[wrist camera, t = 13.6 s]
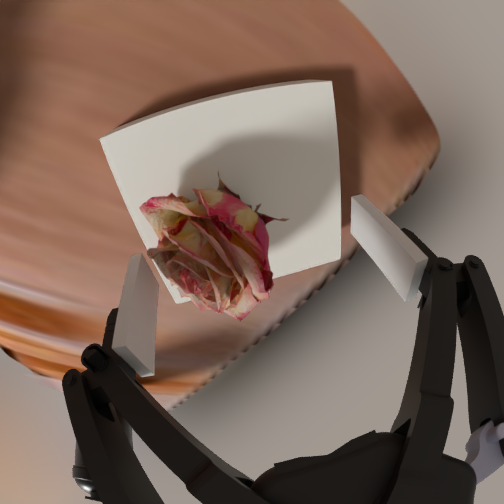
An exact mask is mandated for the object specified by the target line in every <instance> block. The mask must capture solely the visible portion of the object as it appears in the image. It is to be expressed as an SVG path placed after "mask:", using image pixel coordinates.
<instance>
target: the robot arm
mask: <svg viewBox="0 0 504 504" xmlns="http://www.w3.org/2000/svg"><path fill="white" fill-rule="evenodd" d="M351 234H352V235H353V236H354V237H355V239H356V240H357V241H358V242H359V243H360V245H361V246H362V247H363V248H364V249H365V251H366V252H367V253H368V254H369V256H370V257H371V258H372V259H373V261H374V262H375V263H376V264H377V266H378V267H379V268H380V270H381V271H382V272H383V273H384V275H385V276H386V277H387V279H388V280H389V281H390V282H391V284H392V285H393V287H394V288H395V289H396V291H397V292H398V293H399V295H400V296H401V297H402V299H403V300H404V301H405V302H407V301H409V300H411V299H414V298H416V296H417V293H418V290H420V292H421V293H422V297H421V299H420V302H419V305H418V308H419V307H420V312H419V320H418V327H417V334H416V340H415V346H414V352H413V357H412V362H411V367H410V371H409V376H408V380H407V384H406V389H405V393H404V396H403V400H402V404H401V407H400V410H399V413H398V415H397V417H396V419H395V421H394V423H393V426H392V428H391V431H390V432H380V433H376V432H375V430H373V431H372V432H369V433H367V434H364V435H362V436H359V437H357V438H355V439H352V440H350V441H349V442H348V443H346V444H344V445H343V446H341V447H340V448H338V449H337V450H335V451H334V452H332V453H330V454H328V455H323V456H313V457H299V458H295V459H291V460H287V461H283V462H279V463H275V464H274V466H275V467H273V468H271V469H269V470H267V471H266V472H264V473H263V474H262V475H261V476H259V477H258V478H257V479H256V480H255V481H253V480H252V479H250V478H249V477H247V476H246V475H245V474H243V473H241V472H240V471H238V470H237V469H235V468H233V467H232V466H230V465H229V464H227V463H226V462H225V461H223V460H222V459H221V458H219V457H218V456H217V455H216V454H214V453H213V452H212V451H210V450H209V449H208V448H207V447H206V446H204V445H203V444H202V443H201V442H200V441H198V440H197V439H196V438H195V437H194V436H193V435H192V434H190V433H189V432H188V431H187V430H186V429H185V428H184V427H183V426H182V425H181V424H180V423H179V422H177V421H176V420H175V419H174V418H173V417H172V416H171V415H170V414H169V413H168V412H167V411H166V410H165V409H164V408H163V407H162V406H161V405H160V404H159V403H158V402H157V401H156V400H155V399H154V398H153V397H152V396H151V395H150V393H149V392H148V391H147V390H146V389H145V388H144V387H143V386H142V385H141V384H140V382H139V381H138V380H136V379H135V378H136V373H138V374H139V375H140V376H141V377H146V376H153V375H155V340H156V321H157V306H158V294H159V284H158V282H157V280H156V278H155V277H154V275H153V273H152V271H151V269H150V267H149V266H148V264H147V262H146V260H145V258H144V256H143V254H142V253H139V254H136V255H133V256H131V257H130V261H129V265H128V269H127V273H126V277H125V281H124V286H123V290H122V295H121V299H120V304H119V308H115V309H112V311H111V312H110V314H109V316H108V319H107V323H106V325H107V326H106V328H105V333H104V339H103V344H102V346H100V345H99V344H96V343H94V344H91V345H89V346H88V347H86V349H85V350H84V351H83V353H82V356H81V362H82V364H83V365H84V366H85V367H86V368H87V369H88V370H86V371H84V372H82V373H80V372H79V371H78V370H76V369H71V370H69V371H68V372H66V374H65V375H64V377H63V380H62V386H63V391H64V396H65V400H66V404H67V409H68V412H69V416H70V420H71V424H72V427H73V430H74V434H75V437H76V440H77V443H78V446H79V449H80V452H81V455H82V457H83V460H84V463H85V465H86V468H87V470H88V473H89V475H90V477H91V480H92V482H93V484H94V487H95V489H96V491H97V493H98V495H99V497H100V499H101V501H102V503H103V504H164V502H163V501H162V499H161V498H160V496H159V494H158V493H157V491H156V490H155V488H154V487H153V485H152V483H151V482H150V480H149V478H148V477H147V475H146V473H145V471H144V470H143V468H142V466H141V464H140V463H139V461H138V459H137V457H136V455H135V453H134V451H133V449H132V447H131V445H130V443H129V441H128V439H127V437H126V434H125V432H124V430H123V428H122V426H121V423H120V421H119V419H118V416H117V414H116V412H115V409H114V407H113V404H114V405H115V406H116V408H117V409H118V410H119V412H120V413H121V414H122V416H123V417H124V418H125V420H126V421H127V422H128V423H129V425H130V426H131V427H132V428H133V429H134V431H135V432H136V433H137V434H138V435H139V436H140V438H141V439H142V440H143V441H144V442H145V443H146V444H147V446H148V447H149V448H150V449H151V450H152V451H153V452H154V453H155V454H156V455H157V456H158V457H159V459H161V461H163V463H164V464H166V466H167V467H168V468H169V469H170V470H172V472H173V473H175V474H176V475H177V476H178V477H179V478H180V479H181V480H182V481H183V482H184V483H185V484H186V488H187V490H188V491H189V492H190V493H191V494H192V495H193V496H194V497H195V498H197V499H198V500H199V501H200V502H201V503H203V504H473V502H474V494H475V489H476V485H477V484H478V483H479V482H481V481H482V480H484V479H485V478H486V477H488V476H489V475H491V474H492V473H493V472H494V471H496V470H497V469H498V468H499V467H501V466H502V465H503V464H504V315H503V312H502V309H501V306H500V303H499V301H498V298H497V295H496V292H495V290H494V287H493V285H492V282H491V280H490V277H489V275H488V273H487V270H486V268H485V266H484V263H483V262H482V260H481V259H479V258H478V257H476V256H474V255H468V256H466V257H465V260H464V262H463V263H457V264H453V263H452V262H451V261H450V260H448V259H446V258H442V257H439V258H438V257H437V256H436V255H435V254H434V253H433V252H432V251H431V250H430V249H429V248H428V247H427V246H426V245H425V244H424V243H422V241H421V240H420V239H418V237H417V236H416V235H415V234H414V233H413V232H411V231H409V230H408V229H405V228H402V229H399V228H398V227H397V226H396V225H395V224H394V223H393V222H392V221H391V220H390V219H389V218H388V217H387V216H385V215H384V214H383V213H382V212H381V211H380V210H379V209H378V208H377V207H376V206H374V205H373V204H372V203H371V202H370V201H369V200H368V199H366V198H365V197H364V196H363V195H362V194H360V195H356V196H352V197H351ZM457 325H458V330H459V335H460V340H461V346H462V352H463V358H464V365H465V373H466V382H467V394H468V412H469V424H470V430H471V434H472V435H471V436H470V438H469V441H468V442H467V444H466V448H465V449H466V451H467V452H468V455H467V458H466V460H465V462H464V461H462V460H459V459H456V458H453V457H451V456H448V455H446V454H443V450H444V446H445V443H446V439H447V435H448V431H449V427H450V422H451V417H452V413H453V406H454V401H453V399H452V398H451V396H450V393H451V386H452V379H453V371H454V362H455V350H456V332H457V331H456V330H457ZM112 402H113V404H112Z"/></svg>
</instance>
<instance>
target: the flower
mask: <svg viewBox="0 0 504 504" xmlns="http://www.w3.org/2000/svg"><path fill="white" fill-rule="evenodd" d="M218 177H219V170H218ZM192 190H193V192H194V193H195V195H196V196H197V197H198V198H199V199H197V200H194V201H190V200H189V199H187V198H185V197H183V196H179V197H176V196H175V195H174V194H173V193H171V194H170V195H168V196H159V197H151V198H150V199H149V200H147V202H145V203H143V204H142V205H141V206H140V207H139V209H140V211H141V212H142V214H143V215H144V216H145V218H146V219H147V221H148V222H149V223H150V225H151V226H152V228H153V229H154V231H155V233H156V235H157V237H158V238H159V240H158V246H157V248H149V249H148V250H147V255H148V256H149V258H151V259H154V261H155V263H156V264H157V266H158V267H159V269H160V271H161V272H162V273H163V275H164V276H165V277H166V279H168V280H170V283H171V286H173V285H177V286H178V288H177V289H178V291H179V293H180V296H181V298H182V297H190V298H191V300H192V301H193V303H194V304H195V305H196V306H197V307H198V308H199V309H200V310H201V311H202V310H213V311H215V312H217V313H222V312H225V313H227V314H229V315H230V316H232V317H234V318H236V319H238V320H239V321H241V320H242V319H243V318H244V317H245V316H246V315H248V314H249V312H250V311H251V310H252V309H253V308H254V307H255V306H256V305H257V303H261V300H263V299H265V298H269V293H270V292H271V290H272V288H273V285H274V284H273V280H272V276H273V273H272V271H271V270H270V265H269V259H268V248H269V235H268V231H267V229H266V224H267V223H269V222H271V221H273V220H278V221H287V220H289V219H286V218H282V219H277V218H274V217H270V216H268V215H265V214H261V213H259V212H257V211H258V209H259V207H260V206H261V204H259V205H257V206H256V209H255V211H253V210H252V205H247V204H245V203H243V202H242V201H241V200H240V196H239V194H236V193H234V192H233V191H232V190H231V189H230V188H229V187H228V186H226V185H225V184H224V183H223V182H222V180H221V179H220V177H219V186H218V189H217V190H215V189H201V190H198V189H194V188H193V189H192ZM154 217H155V218H154ZM268 292H269V293H268Z"/></svg>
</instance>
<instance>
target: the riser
mask: <svg viewBox="0 0 504 504" xmlns="http://www.w3.org/2000/svg"><path fill="white" fill-rule="evenodd" d="M100 142H101V144H102V147H103V150H104V152H105V155H106V158H107V160H108V163H109V165H110V168H111V170H112V173H113V175H114V178H115V180H116V183H117V185H118V187H119V190H120V192H121V194H122V197H123V199H124V201H125V204H126V206H127V208H128V210H129V213H130V215H131V217H132V219H133V221H134V223H135V226H136V228H137V230H138V232H139V234H140V236H141V238H142V240H143V242H144V244H145V246H146V248H147V250H148V249H149V248H157V246H158V240H159V238H158V237H157V235H156V233H155V231H154V229H153V228H152V226H151V225H150V223H149V222H148V221H147V219H146V218H145V216H144V215H143V214H142V212H141V211H140V209H139V207H140V206H141V205H142V204H143V203H145V202H147V200H149V199H150V198H151V197H159V196H168V195H170V194H171V193H173V194H174V195H175V196H176V197H179V196H183V197H185V198H187V199H189V200H190V201H194V200H197V199H199V198H198V197H197V196H196V195H195V193H194V192H193V190H192V189H193V188H194V189H198V190H201V189H215V190H217V189H218V186H219V177H220V179H221V180H222V182H223V183H224V184H225V185H226V186H228V187H229V188H230V189H231V190H232V191H233V192H234V193H236V194H239V196H240V200H241V201H242V202H243V203H245V204H247V205H252V210H253V211H255V209H256V206H257V205H259V204H261V206H260V207H259V209H258V211H257V212H259V213H261V214H265V215H268V216H270V217H274V218H277V219H282V218H286V219H289V220H287V221H278V220H273V221H271V222H269V223H267V224H266V229H267V231H268V235H269V248H268V259H269V265H270V270H271V271H272V273H273V276H272V279H273V278H277V277H280V276H284V275H287V274H291V273H294V272H298V271H301V270H305V269H308V268H312V267H315V266H318V265H322V264H325V263H328V262H332V261H335V260H338V259H340V257H341V188H340V164H339V148H338V134H337V123H336V113H335V103H334V95H333V87H332V81H325V80H312V79H308V80H298V81H290V82H282V83H275V84H268V85H262V86H256V87H251V88H245V89H240V90H235V91H231V92H226V93H222V94H218V95H214V96H209V97H206V98H202V99H198V100H194V101H191V102H187V103H184V104H181V105H177V106H174V107H171V108H168V109H165V110H162V111H159V112H156V113H153V114H150V115H148V116H145V117H142V118H139V119H137V120H134V121H132V122H129V123H127V124H124V125H122V126H119V127H117V128H115V129H113V130H112V131H110V132H109V133H107V134H106V135H105V136H103V137H102V138H100ZM218 170H219V177H218ZM154 218H155V217H154ZM152 260H153V262H154V264H155V266H156V268H157V270H158V271H159V273H160V275H161V277H162V279H163V281H164V283H165V284H166V286H167V288H168V290H169V292H170V293H171V295H172V297H173V299H174V301H175V302H176V304H179V303H183V302H187V301H191V298H190V297H182V298H181V296H180V293H179V291H178V289H177V288H178V286H177V285H173V286H171V283H170V280H168V279H166V277H165V276H164V275H163V273H162V272H161V271H160V269H159V267H158V266H157V264H156V263H155V261H154V259H152Z"/></svg>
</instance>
